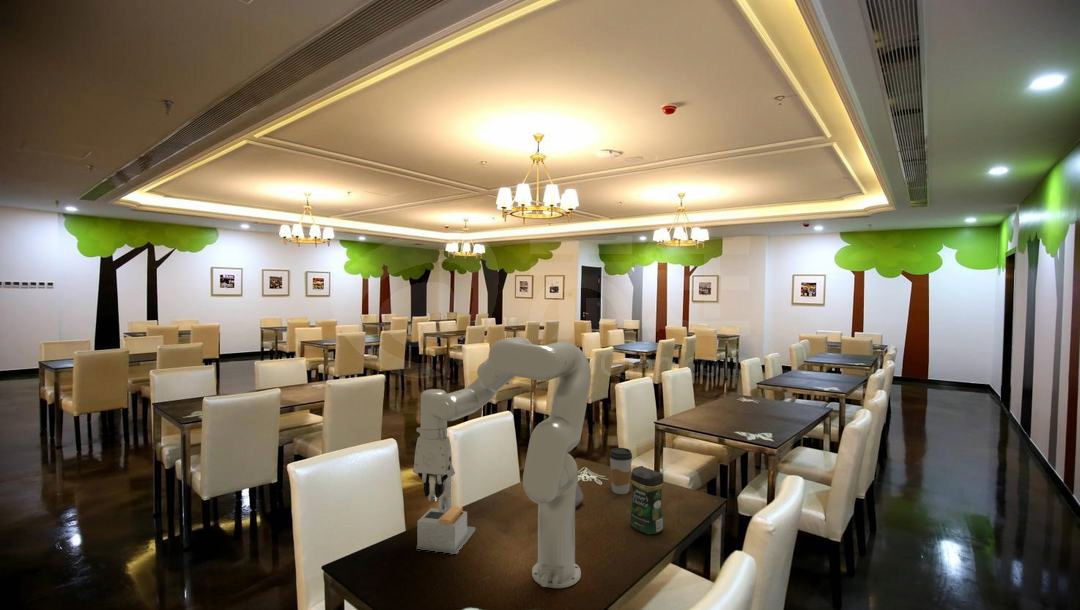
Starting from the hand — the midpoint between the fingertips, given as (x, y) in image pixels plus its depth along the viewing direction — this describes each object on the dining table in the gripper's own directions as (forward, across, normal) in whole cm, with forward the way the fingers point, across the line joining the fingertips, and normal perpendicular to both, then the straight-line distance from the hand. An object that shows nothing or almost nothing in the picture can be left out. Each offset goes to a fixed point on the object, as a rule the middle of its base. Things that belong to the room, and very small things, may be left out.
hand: (433, 494), depth 148 cm
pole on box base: (+14, +3, +2) cm, 14 cm away
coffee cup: (+14, +50, +51) cm, 73 cm away
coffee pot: (+14, +30, +31) cm, 46 cm away
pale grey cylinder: (+1, 0, 0) cm, 1 cm away
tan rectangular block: (+13, +6, 0) cm, 14 cm away
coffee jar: (+14, +60, +23) cm, 66 cm away
